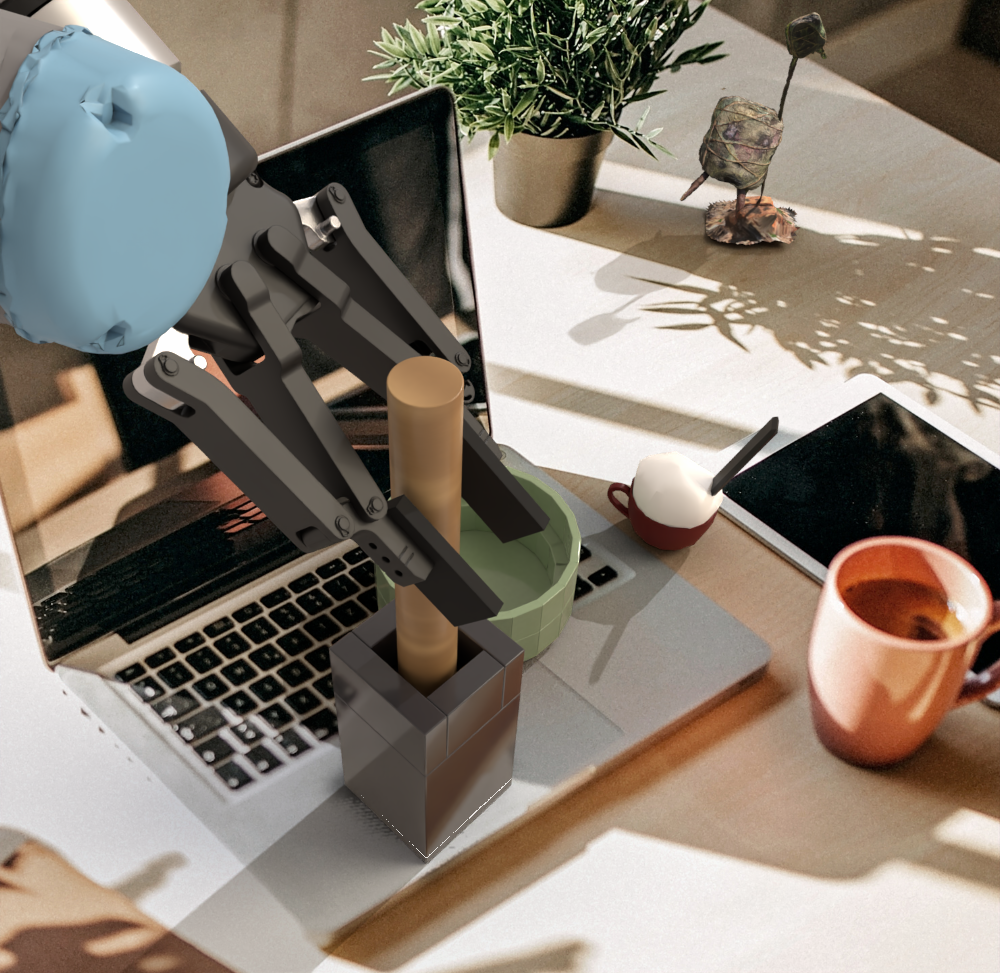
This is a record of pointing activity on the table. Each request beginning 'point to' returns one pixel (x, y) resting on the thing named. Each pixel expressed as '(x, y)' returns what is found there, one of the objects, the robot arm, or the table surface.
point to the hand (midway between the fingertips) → (502, 571)
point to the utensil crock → (426, 729)
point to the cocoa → (680, 494)
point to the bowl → (520, 569)
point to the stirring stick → (426, 501)
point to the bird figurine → (752, 153)
